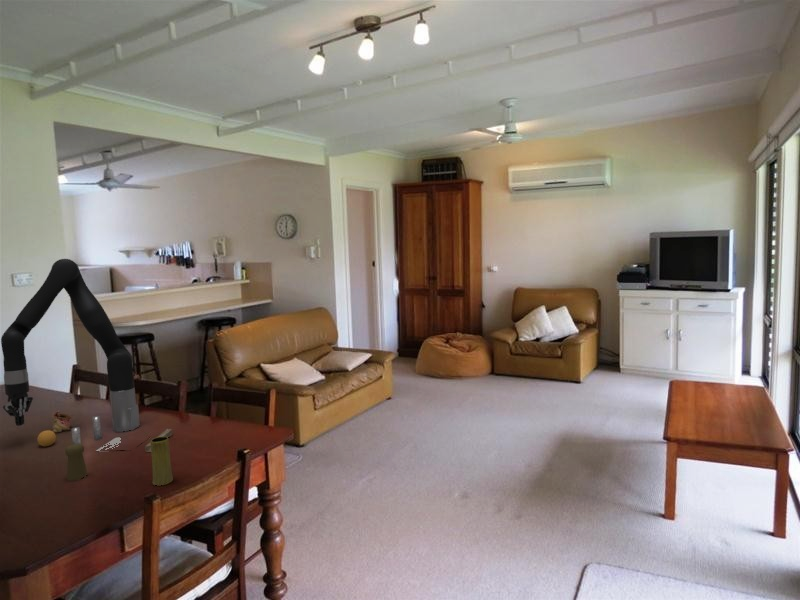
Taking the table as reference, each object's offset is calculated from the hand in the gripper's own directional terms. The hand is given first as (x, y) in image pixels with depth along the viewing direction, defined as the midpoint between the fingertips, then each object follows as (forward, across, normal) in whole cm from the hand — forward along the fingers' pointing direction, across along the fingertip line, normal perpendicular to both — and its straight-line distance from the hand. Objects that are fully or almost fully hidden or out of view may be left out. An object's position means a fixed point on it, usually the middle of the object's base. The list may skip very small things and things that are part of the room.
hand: (20, 424), depth 204 cm
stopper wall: (+8, 0, -54) cm, 54 cm away
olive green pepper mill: (+8, -29, -40) cm, 50 cm away
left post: (+8, -6, -26) cm, 28 cm away
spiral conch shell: (+9, +18, -4) cm, 21 cm away
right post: (+8, +7, -26) cm, 28 cm away
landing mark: (+8, 0, -40) cm, 41 cm away
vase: (+8, -34, -71) cm, 79 cm away
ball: (+5, 0, -10) cm, 11 cm away
